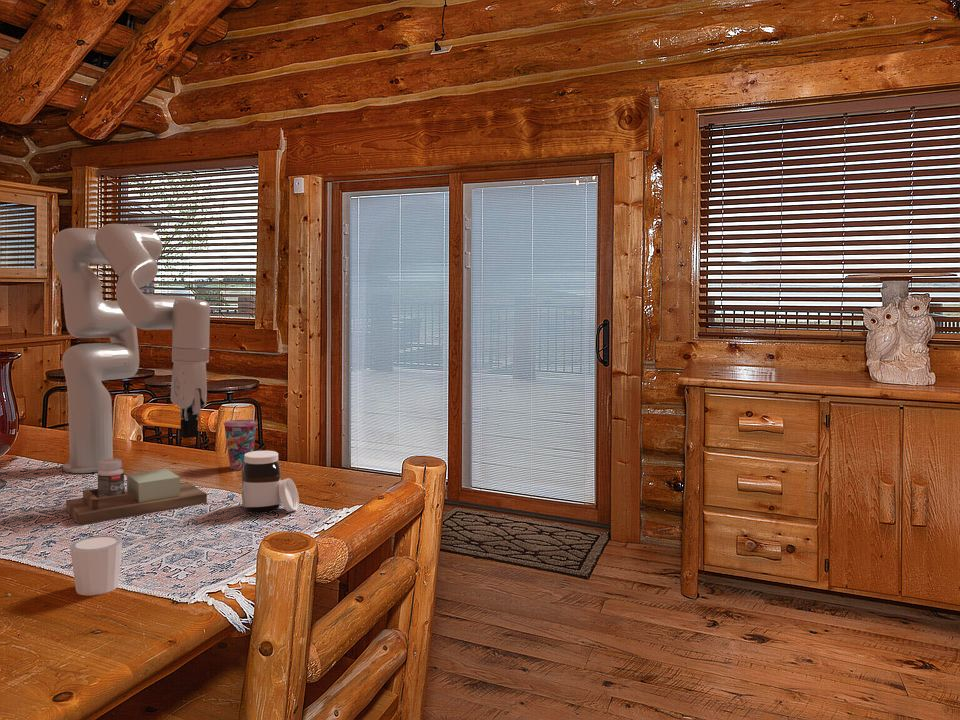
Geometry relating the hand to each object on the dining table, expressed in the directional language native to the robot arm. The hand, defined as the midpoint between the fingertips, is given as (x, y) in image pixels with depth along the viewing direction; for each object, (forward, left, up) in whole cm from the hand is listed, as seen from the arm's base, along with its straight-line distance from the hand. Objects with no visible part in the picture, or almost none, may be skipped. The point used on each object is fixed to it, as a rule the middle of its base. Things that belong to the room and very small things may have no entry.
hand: (189, 436), depth 151 cm
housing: (+4, -12, -13) cm, 18 cm away
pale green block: (+4, -9, -11) cm, 14 cm away
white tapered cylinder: (+43, -28, -13) cm, 52 cm away
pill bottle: (+3, -17, -11) cm, 20 cm away
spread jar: (+22, +9, -13) cm, 27 cm away
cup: (-15, +18, -13) cm, 27 cm away
